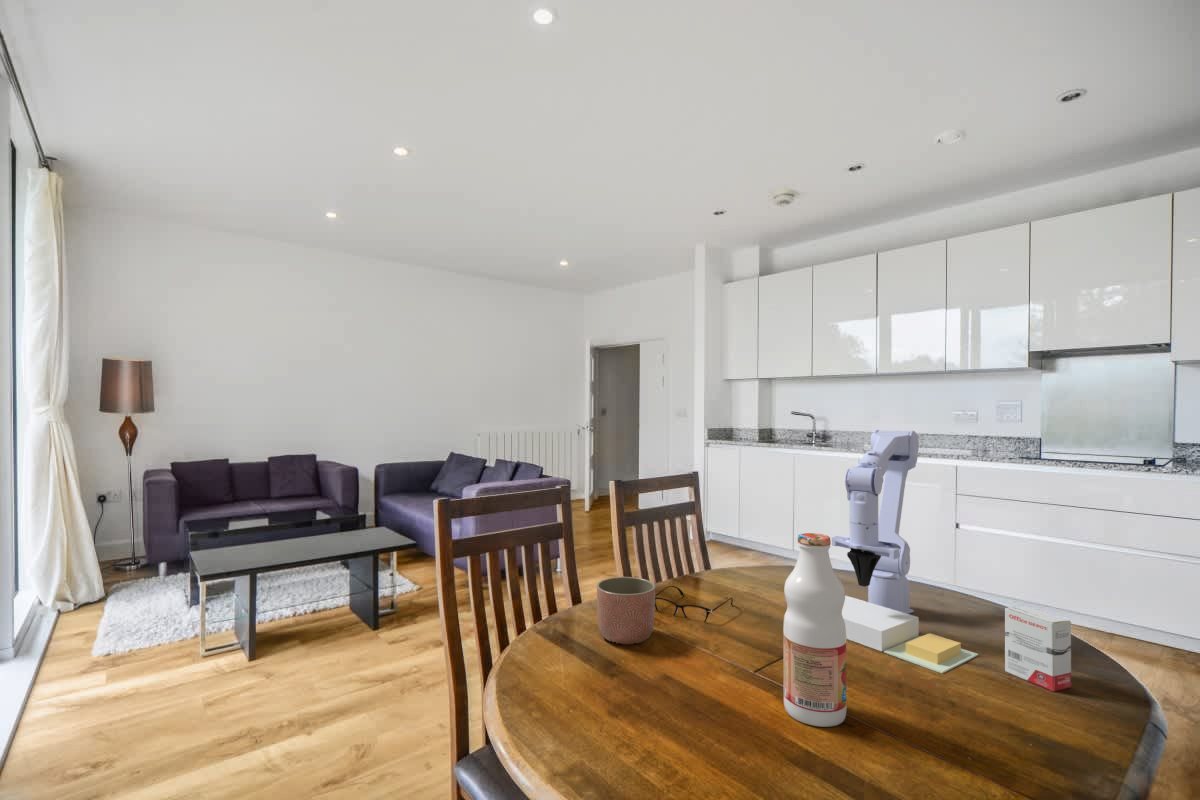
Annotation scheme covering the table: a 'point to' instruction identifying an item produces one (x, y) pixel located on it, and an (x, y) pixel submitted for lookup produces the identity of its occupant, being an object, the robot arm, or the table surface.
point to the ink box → (1038, 647)
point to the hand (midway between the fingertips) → (864, 585)
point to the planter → (626, 609)
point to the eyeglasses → (687, 605)
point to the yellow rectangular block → (933, 648)
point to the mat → (941, 668)
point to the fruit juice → (814, 637)
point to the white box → (877, 624)
